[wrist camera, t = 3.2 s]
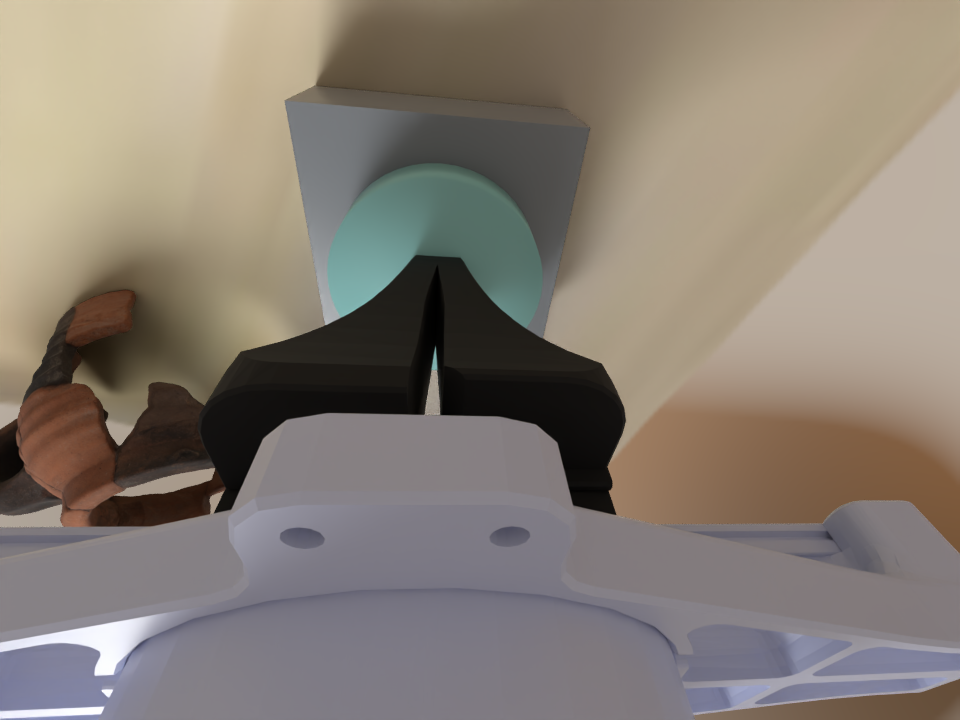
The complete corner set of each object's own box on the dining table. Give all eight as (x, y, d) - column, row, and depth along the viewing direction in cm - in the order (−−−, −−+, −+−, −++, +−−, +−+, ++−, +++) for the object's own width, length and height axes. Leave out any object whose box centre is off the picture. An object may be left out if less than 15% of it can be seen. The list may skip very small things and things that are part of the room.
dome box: (528, 314, 19) (538, 356, 16) (345, 306, 18) (329, 349, 16) (566, 109, 14) (590, 127, 11) (314, 85, 13) (284, 100, 11)
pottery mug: (179, 240, 16) (206, 428, 13) (301, 345, 25) (335, 473, 22) (-129, 365, 16) (-188, 598, 12) (106, 427, 24) (110, 574, 21)
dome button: (510, 303, 17) (525, 372, 14) (363, 296, 17) (341, 366, 13) (535, 145, 14) (562, 188, 10) (346, 129, 13) (309, 169, 10)
